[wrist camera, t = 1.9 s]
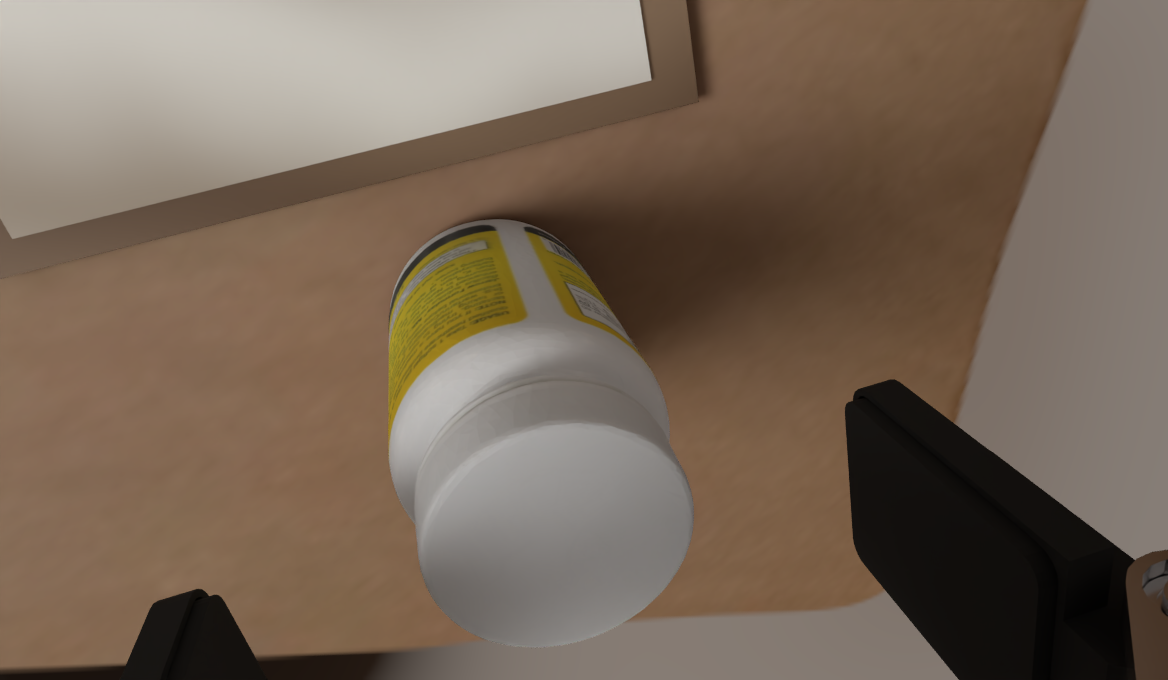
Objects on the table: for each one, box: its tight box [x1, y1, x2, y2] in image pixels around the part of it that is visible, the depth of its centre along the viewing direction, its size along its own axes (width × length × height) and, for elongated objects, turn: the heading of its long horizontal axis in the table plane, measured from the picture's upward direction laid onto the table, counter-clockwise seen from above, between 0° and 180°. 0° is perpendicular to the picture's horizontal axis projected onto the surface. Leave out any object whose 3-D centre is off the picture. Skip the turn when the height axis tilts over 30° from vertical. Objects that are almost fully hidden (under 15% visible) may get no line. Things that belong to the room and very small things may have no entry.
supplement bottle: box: [388, 219, 694, 648], centre depth 14 cm, size 5×5×8 cm
